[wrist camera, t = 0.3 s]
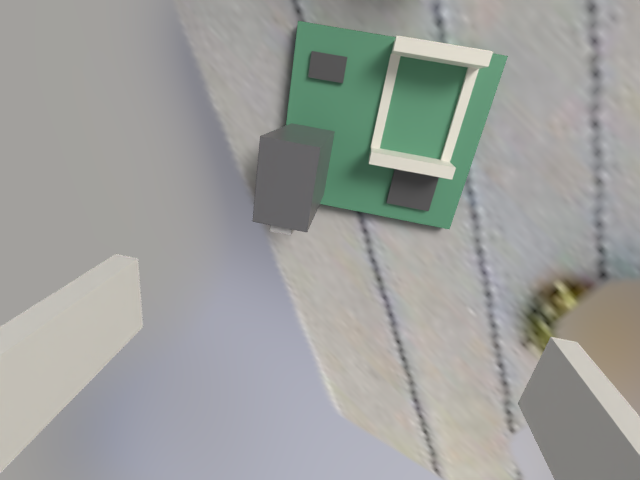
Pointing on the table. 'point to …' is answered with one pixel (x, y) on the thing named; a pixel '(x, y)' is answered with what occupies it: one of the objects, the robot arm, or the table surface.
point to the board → (393, 117)
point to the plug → (291, 176)
